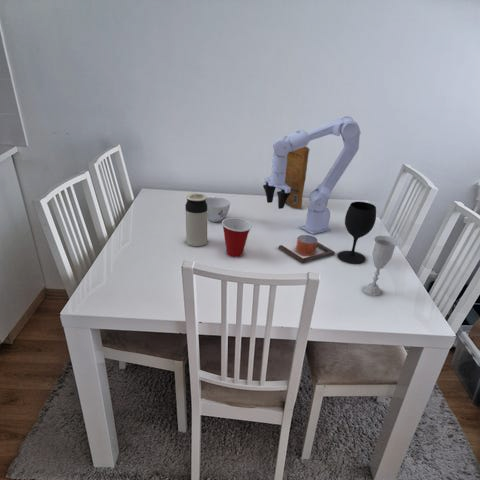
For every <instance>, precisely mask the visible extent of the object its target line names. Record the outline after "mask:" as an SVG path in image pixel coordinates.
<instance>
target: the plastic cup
mask: <svg viewBox="0 0 480 480" xmlns="http://www.w3.org/2000/svg"><path fill="white" fill-rule="evenodd" d="M221 225H222V229H223V235H224V236H223V237H224V243H225V249H226V250H225V251H226V255H227V256H228V257H232V258H239V257H241V256H242V255H243V254H244V250H245V247H246V243H247V239H248V235H249V233H250V230H251V229H252V227H253V225H252V223H251V222H250V221H248V220H246V219H243V218H239V217H227V218H223V219H222V220H221Z"/></svg>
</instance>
